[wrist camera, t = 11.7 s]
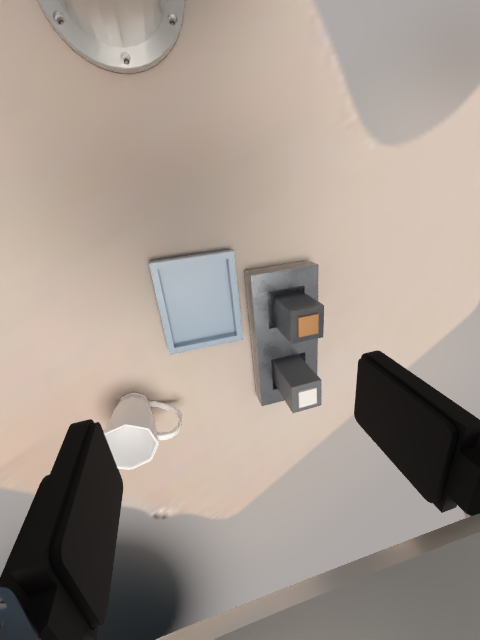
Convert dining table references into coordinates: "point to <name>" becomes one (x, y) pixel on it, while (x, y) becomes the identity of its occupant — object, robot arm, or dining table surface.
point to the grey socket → (282, 320)
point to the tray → (198, 300)
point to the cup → (136, 430)
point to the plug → (296, 382)
